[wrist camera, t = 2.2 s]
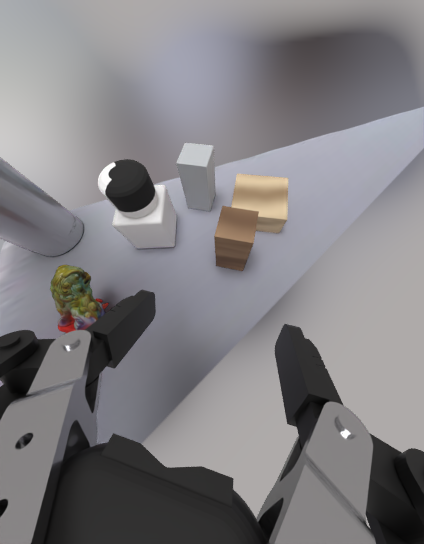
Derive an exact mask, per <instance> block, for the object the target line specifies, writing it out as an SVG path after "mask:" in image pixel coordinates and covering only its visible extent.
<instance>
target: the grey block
mask: <svg viewBox="0 0 424 544" xmlns="http://www.w3.org/2000/svg"><path fill="white" fill-rule="evenodd" d="M176 164H177V168H178V171H179V175H180V179H181V183H182V186H183V190H184V194H185V198H186V201H187V205H188V208H191V209H197V210H203V211H211V207H212V204H213V201H214V197H215V167H214V146H211V145H201V144H192V143H185V145H184V147H183V149H182V151H181V154H180V156H179V158H178V161H177V163H176Z"/></svg>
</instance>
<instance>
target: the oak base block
mask: <svg viewBox="0 0 424 544" xmlns="http://www.w3.org/2000/svg"><path fill="white" fill-rule="evenodd" d="M287 204H288V178H282V177H270V176H258V175H246V174H237V177H236V183H235V189H234V194H233V200H232V206H231V207H233V208H239V209H246V210H252V211H259V214H258V219H257V225H256V231H264V232H273V233H279V232H280V231H281V229H282V227H283V226H284V224H285V222H286V221H287Z"/></svg>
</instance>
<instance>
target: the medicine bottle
mask: <svg viewBox="0 0 424 544" xmlns="http://www.w3.org/2000/svg"><path fill="white" fill-rule="evenodd" d="M98 187H99V189H100V191H101V192H102V193H103V194H104V196H105V197H106V198H107V199H108V200H109V201H110V202H111V204H112V205H113V206H114V207H115V208H116V210H115V214H114V219H113V223H112V225H113V226H114V227H115V228H116V229H117V230H118V231H119V232H120V233H121V234H122V235H123V236H124V237H125V238H126V239H127V240H128V241H129V242H130V243H131V244H133V245H134V246H135V247H136V248H137V249H142V248H164V247H174V246H175V235H176V220H177V215H176V212H175V210H174V207H173V204H172V202H171V199H170V197H169V194H168V191H167V189H166V186H165V185H153V183H152V181H151V178H150V176H149V174H148V172H147V170H146V168H145V167H144V166H143V165H142V164H141V163H139V162H137V161H134V160H128V159H127V160H119V161H116V162H114V163H111V164H110V165H108V166H107V167H106V168H104V170H103V171H102V172H101V173H100V176H99V178H98Z"/></svg>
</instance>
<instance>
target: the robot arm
mask: <svg viewBox="0 0 424 544" xmlns="http://www.w3.org/2000/svg"><path fill="white" fill-rule="evenodd" d="M82 234H83V224H82V222H81V220H80V219H79V218H77V217H76V216H75V215H74V214H72V213H71V212H70V211H68V210H67V209H66V208H65V207H63V206H62V205H61V204H60V203H58V202H57V201H56V200H54V199H53V198H52V197H50V196H49V195H48V194H47V193H46V192H44V191H43V190H42V189H40V188H39V187H38V186H37V185H35V184H34V183H33V182H31V181H30V180H29V179H27V178H26V177H25V176H24V175H22V174H21V173H20V172H19V171H17V170H16V169H15V168H13V167H12V166H11V165H10V164H8V163H7V162H6V161H4V160H3V159H2V158H1V157H0V239H3V240H5V241H7V242H10V243H12V244H15V245H17V246H19V247H22V248H24V249H27V250H29V251H32V252H37V253H39V254H42V255H45V256H58V255H61V254H63V253H65V252H67V251H69V250H70V249H72V248H73V247H74V246H75V245H76V244H77V243H78V242H79V240H80V238H81V237H82ZM154 316H155V294H154V293H153V292H149V291H145V290H141V291H139V292H138V293H137V294H136V295H134V296H130V297H128V298H125V299H123V300H122V301H120V302H119V303H118V304H117V305H116V306H114V307H113V308H112V309H110V311H108V312H107V313H105V314H104V315H103V316H102V317H100V318H99V319H98V320H97V321H95V322H94V323H93V324H92V325H90V326H89V327H88V328H87V329H85V330H75V331H71V332H68V333H66V334H64V335H62V336H60V337H59V338H57V339H37V338H36V336H35V334H34V332H32V331H30V330H21V331H16V332H12V333H9V334H6V335H4V336H1V337H0V380H1V381H2V382H3V384H4V385H2V386H1V387H0V544H424V452H423V451H421V450H418V449H412V448H411V449H408V450H406V451H405V452H403V453H401V452H400V451H398V450H396V449H394V448H393V447H391V446H389V445H388V444H386V443H384V442H383V441H381V440H380V439H378V438H376V437H375V436H373V435H371V434H370V433H369V432H368V430H367V429H366V427H365V426H364V424H363V423H362V422H361V420H360V419H359V418H358V417H357V416H356V415H355V414H354V413H353V412H352V411H351V410H349V409H348V408H346V407H345V406H344V405H343V403H342V401H341V399H340V397H339V395H338V393H337V390H336V388H335V386H334V384H333V382H332V380H331V378H330V376H329V373H328V371H327V369H326V368H325V365H324V363H323V360H321V356H320V354H319V352H318V350H317V348H316V347H315V346H314V344H313V343H312V342H311V341H310V340H309V339H305V338H304V335H303V333H302V330H301V328H299V327H296V326H292V325H287V324H285V325H284V326H283V328H282V330H281V333H280V335H279V337H278V339H277V342H276V345H275V357H276V362H277V367H278V374H279V379H280V384H281V391H282V396H283V402H284V407H285V413H286V419H287V424H289V425H293V426H296V427H297V429H298V434H299V436H298V437H297V439H296V441H295V443H294V446H293V448H292V450H291V452H290V454H289V456H288V458H287V460H286V462H285V464H284V467H283V469H282V471H281V473H280V475H279V477H278V479H277V481H276V483H275V485H274V487H273V488H272V490H271V491H270V493H269V495H268V496H267V498H266V500H265V502H264V504H263V506H262V508H261V510H260V512H259V514H258V516H257V519H256V518H255V516H254V514H253V513H252V511H251V510H250V508H249V507H248V506H247V504H246V503H245V501H244V500H243V499H242V498H241V497H240V496H239V495H238V494H237V493H236V492H235V491H234V490H233V478H231V477H228V476H225V475H223V474H220V473H217V472H215V471H212V470H210V469H206V468H204V467H177V468H167V467H165V466H164V465H162V464H161V463H160V462H159V461H158V460H157V459H156V458H155V457H154V456H153V455H152V454H151V453H150V452H149V451H148V450H146V448H145V447H143V445H141V444H140V443H138V442H135V441H132V440H130V439H127V438H124V437H122V436H119V435H116V434H114V433H113V435H112V437H111V438H110V440H109V442H108V443H103V444H98V445H97V410H98V402H99V394H100V387H101V379H102V371H103V370H104V368H105V367H106V366H108V367H111V368H115V367H116V366H117V365H118V364H119V362H120V361H121V360H122V359H123V357H124V356H125V355H126V354H127V352H128V351H129V350H130V349H131V347H132V346H133V345H134V343H135V342H136V341H137V340H138V338H139V337H140V336H141V335H142V333H143V332H144V331H145V330H146V328H147V327H148V326H149V325H150V323H151V322H152V321H153V319H154ZM365 516H366V517H367V520H368V523H369V526H370V528H369V527H368V526H367V524H366V518H365Z"/></svg>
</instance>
